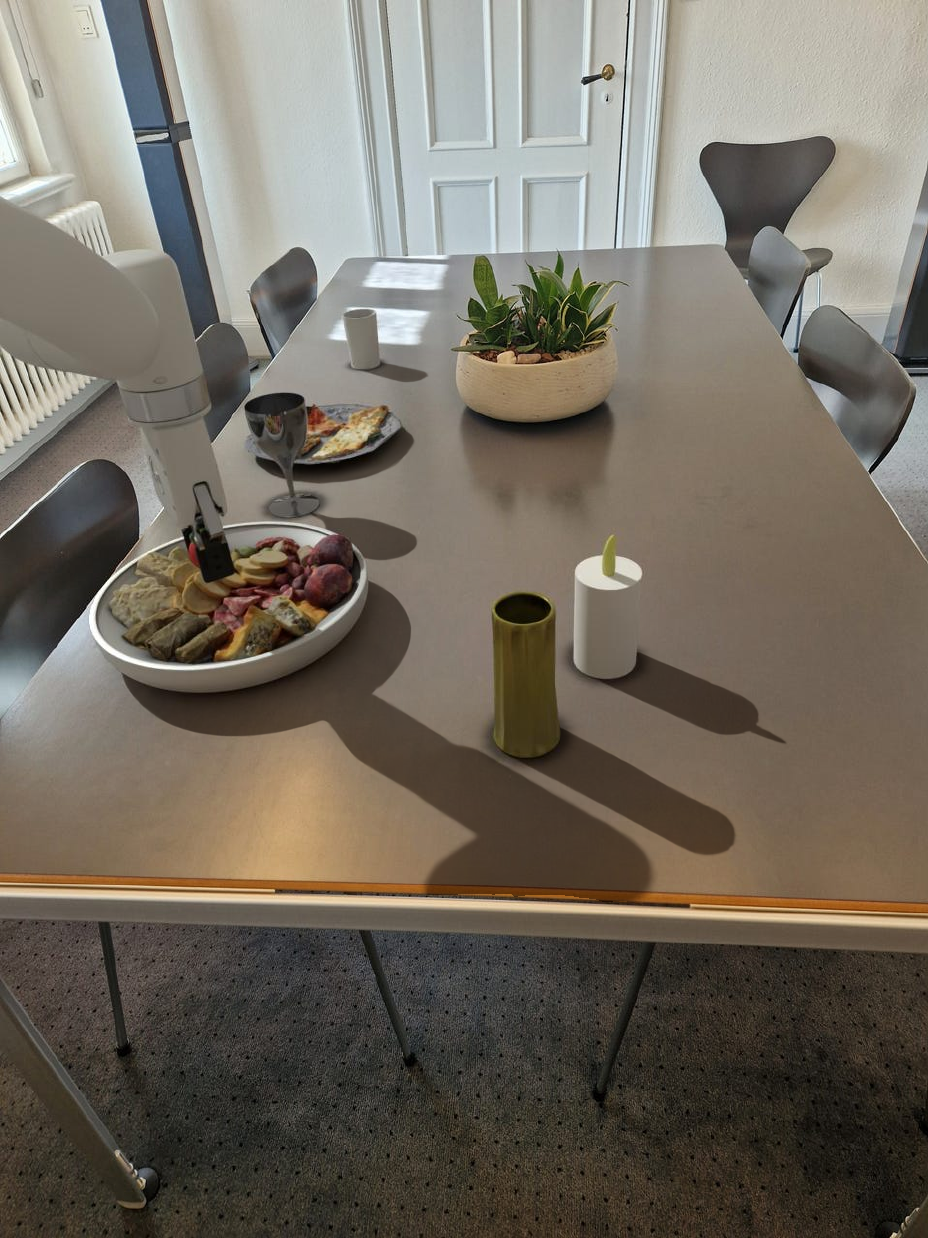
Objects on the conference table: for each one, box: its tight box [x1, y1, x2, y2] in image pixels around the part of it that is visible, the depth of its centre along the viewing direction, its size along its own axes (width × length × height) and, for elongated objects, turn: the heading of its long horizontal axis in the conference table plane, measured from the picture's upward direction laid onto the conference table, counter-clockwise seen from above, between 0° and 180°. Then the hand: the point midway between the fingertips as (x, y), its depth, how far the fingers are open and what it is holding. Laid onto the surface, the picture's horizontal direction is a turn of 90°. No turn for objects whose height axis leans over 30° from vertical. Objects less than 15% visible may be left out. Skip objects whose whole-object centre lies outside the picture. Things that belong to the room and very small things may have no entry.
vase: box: [491, 590, 561, 759], centre depth 74 cm, size 6×6×14 cm
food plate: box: [243, 403, 403, 465], centre depth 137 cm, size 25×23×4 cm
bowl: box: [88, 521, 369, 694], centre depth 94 cm, size 30×30×8 cm
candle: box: [573, 534, 643, 680], centre depth 83 cm, size 6×6×15 cm
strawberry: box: [189, 527, 205, 569], centre depth 87 cm, size 4×4×4 cm
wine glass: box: [243, 392, 321, 518], centre depth 116 cm, size 8×8×15 cm
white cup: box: [341, 308, 381, 370], centre depth 167 cm, size 7×7×10 cm
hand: (212, 566), depth 88 cm, fingers closed on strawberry, 3 cm apart
